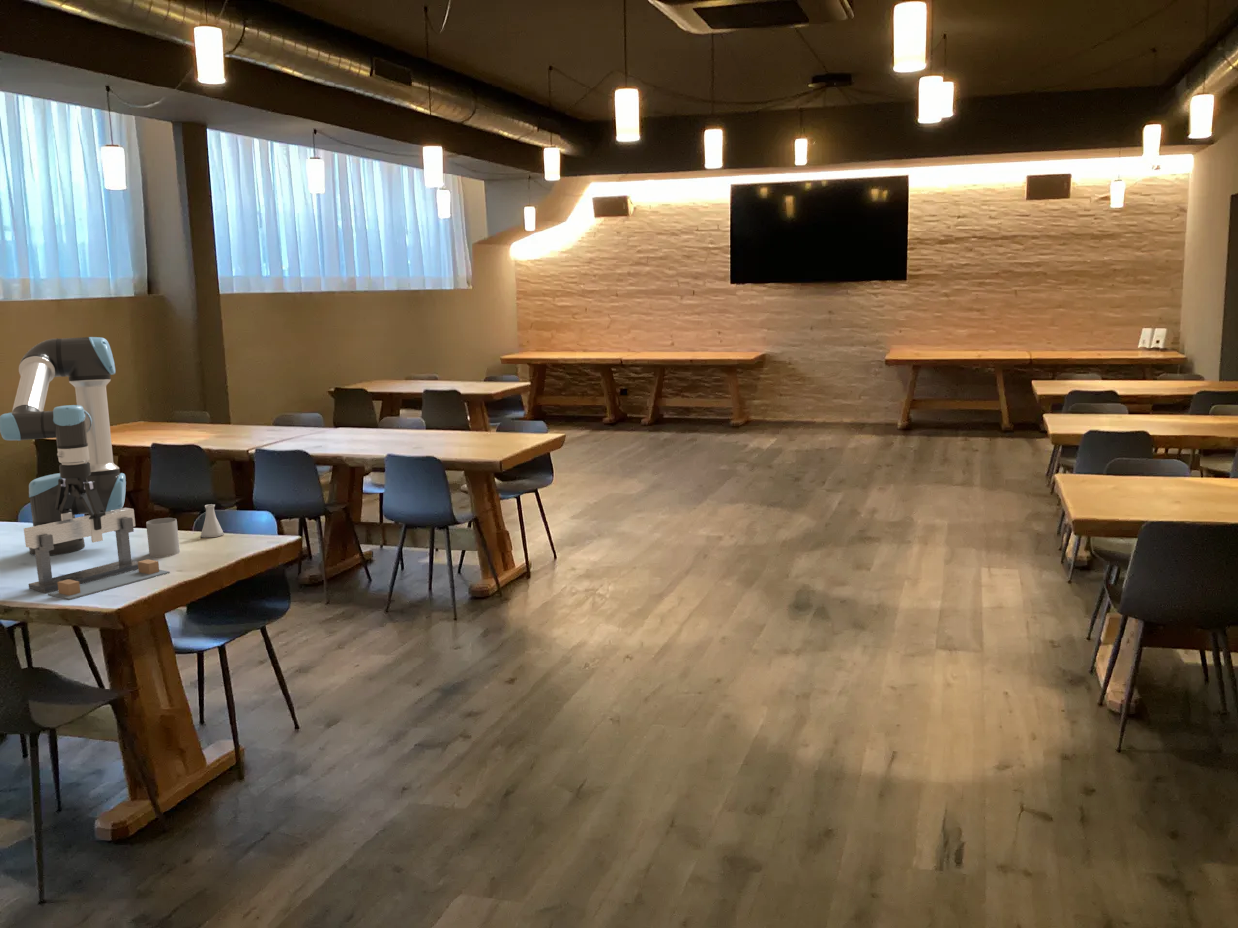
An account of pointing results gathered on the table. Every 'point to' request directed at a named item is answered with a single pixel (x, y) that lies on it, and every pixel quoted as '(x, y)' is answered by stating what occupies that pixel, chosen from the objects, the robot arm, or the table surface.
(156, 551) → the cup
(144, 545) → the table surface
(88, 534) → the white bar
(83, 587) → the mat
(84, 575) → the hook stand
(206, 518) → the flask
